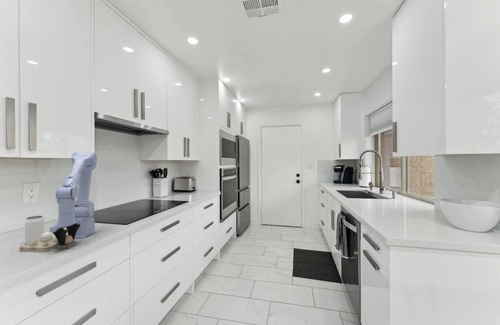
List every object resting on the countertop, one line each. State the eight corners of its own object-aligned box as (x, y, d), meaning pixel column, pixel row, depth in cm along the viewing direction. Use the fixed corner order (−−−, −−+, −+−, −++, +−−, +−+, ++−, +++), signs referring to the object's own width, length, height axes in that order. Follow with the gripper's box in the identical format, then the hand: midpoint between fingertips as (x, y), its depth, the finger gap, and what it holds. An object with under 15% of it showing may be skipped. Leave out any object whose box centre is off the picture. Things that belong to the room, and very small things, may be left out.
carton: (46, 241, 106) (46, 237, 106) (70, 241, 105) (70, 238, 105) (19, 251, 94) (19, 247, 94) (46, 252, 93) (46, 247, 93)
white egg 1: (46, 239, 105) (46, 230, 105) (55, 239, 105) (55, 230, 105) (37, 242, 100) (37, 233, 100) (46, 243, 100) (46, 233, 100)
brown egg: (66, 242, 102) (66, 233, 102) (75, 242, 101) (75, 233, 101) (57, 246, 97) (57, 236, 97) (67, 246, 97) (67, 236, 97)
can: (47, 239, 108) (47, 215, 108) (35, 244, 102) (35, 218, 102) (34, 239, 108) (34, 215, 108) (20, 244, 102) (21, 218, 102)
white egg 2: (58, 239, 105) (58, 230, 105) (67, 240, 105) (67, 230, 105) (49, 243, 100) (49, 233, 100) (58, 243, 100) (58, 233, 100)
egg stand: (66, 244, 102) (66, 241, 102) (77, 244, 102) (77, 241, 102) (55, 249, 97) (55, 245, 97) (67, 249, 96) (67, 245, 96)
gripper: (71, 209, 107) (71, 237, 107) (42, 216, 92) (42, 248, 92) (85, 209, 106) (85, 237, 106) (58, 217, 92) (58, 249, 92)
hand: (66, 242), depth 99 cm, fingers closed on brown egg, 4 cm apart
